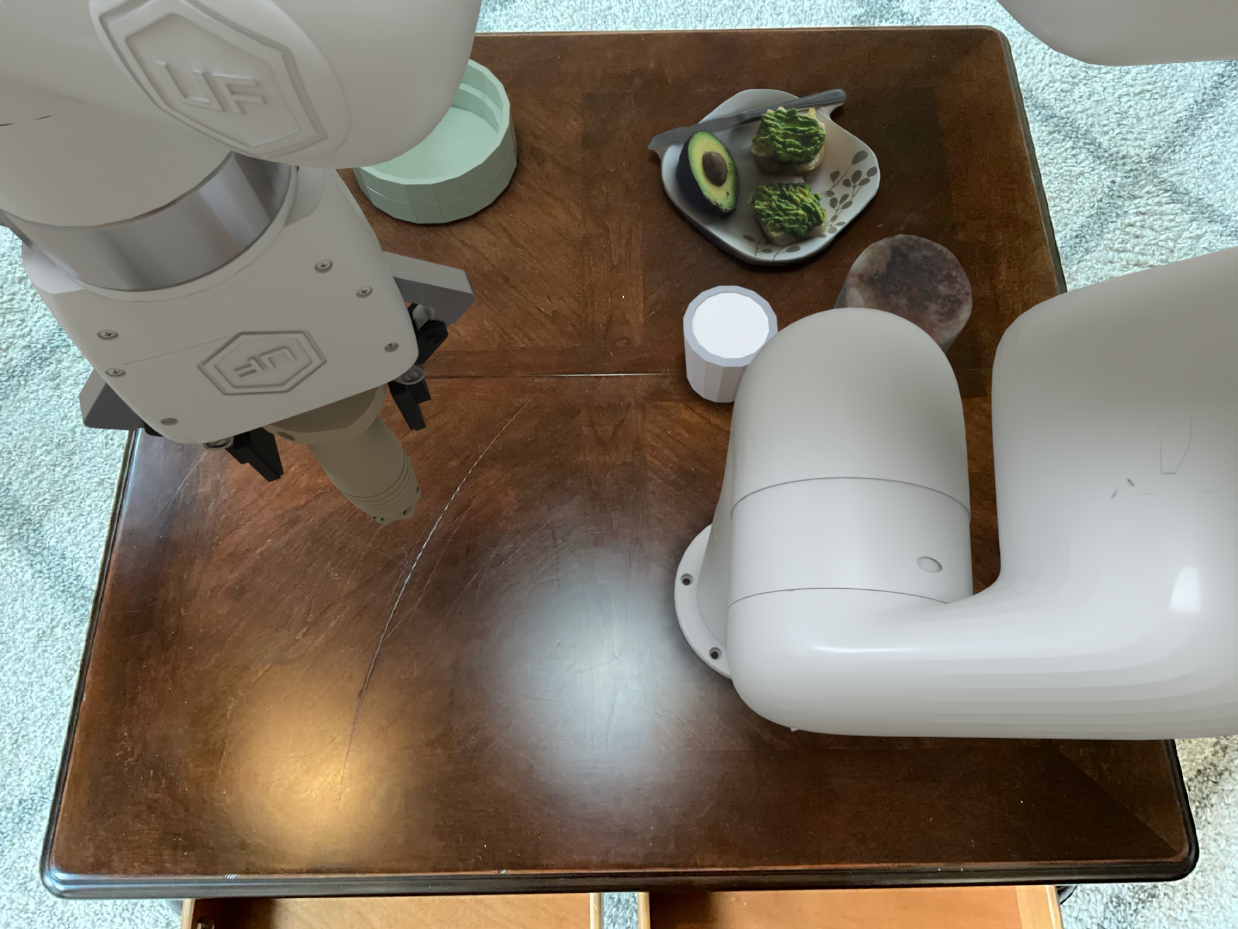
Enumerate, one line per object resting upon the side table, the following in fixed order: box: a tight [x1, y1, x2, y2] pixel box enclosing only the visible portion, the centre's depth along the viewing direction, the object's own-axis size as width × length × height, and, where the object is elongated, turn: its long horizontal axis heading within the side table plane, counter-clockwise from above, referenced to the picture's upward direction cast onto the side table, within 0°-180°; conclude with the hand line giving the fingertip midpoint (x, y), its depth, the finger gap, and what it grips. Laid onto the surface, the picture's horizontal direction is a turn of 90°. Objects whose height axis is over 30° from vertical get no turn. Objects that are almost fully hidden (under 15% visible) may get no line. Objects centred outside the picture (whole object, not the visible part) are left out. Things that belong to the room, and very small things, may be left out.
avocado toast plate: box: [646, 88, 882, 267], centre depth 75 cm, size 19×18×5 cm
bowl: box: [351, 58, 518, 225], centre depth 76 cm, size 14×14×6 cm
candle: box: [832, 233, 973, 355], centre depth 58 cm, size 8×7×20 cm
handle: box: [262, 383, 422, 526], centre depth 44 cm, size 5×6×15 cm
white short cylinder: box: [682, 285, 779, 403], centre depth 67 cm, size 7×7×7 cm
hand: (340, 426), depth 41 cm, fingers closed on handle, 6 cm apart
